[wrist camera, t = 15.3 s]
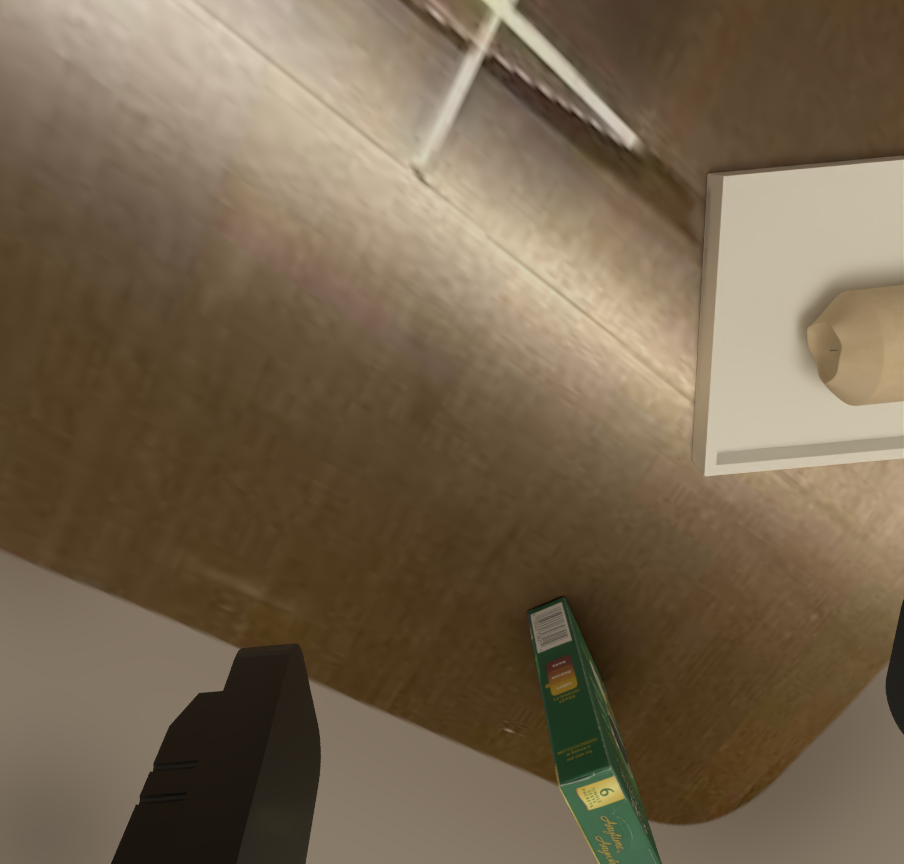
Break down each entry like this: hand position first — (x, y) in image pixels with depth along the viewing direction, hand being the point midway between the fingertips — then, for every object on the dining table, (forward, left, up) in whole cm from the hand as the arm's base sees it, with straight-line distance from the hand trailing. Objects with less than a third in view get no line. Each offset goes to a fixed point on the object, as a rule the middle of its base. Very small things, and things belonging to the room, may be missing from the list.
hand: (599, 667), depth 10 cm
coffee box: (+24, +4, -28) cm, 37 cm away
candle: (+5, +26, -25) cm, 36 cm away
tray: (+4, +21, -28) cm, 35 cm away
